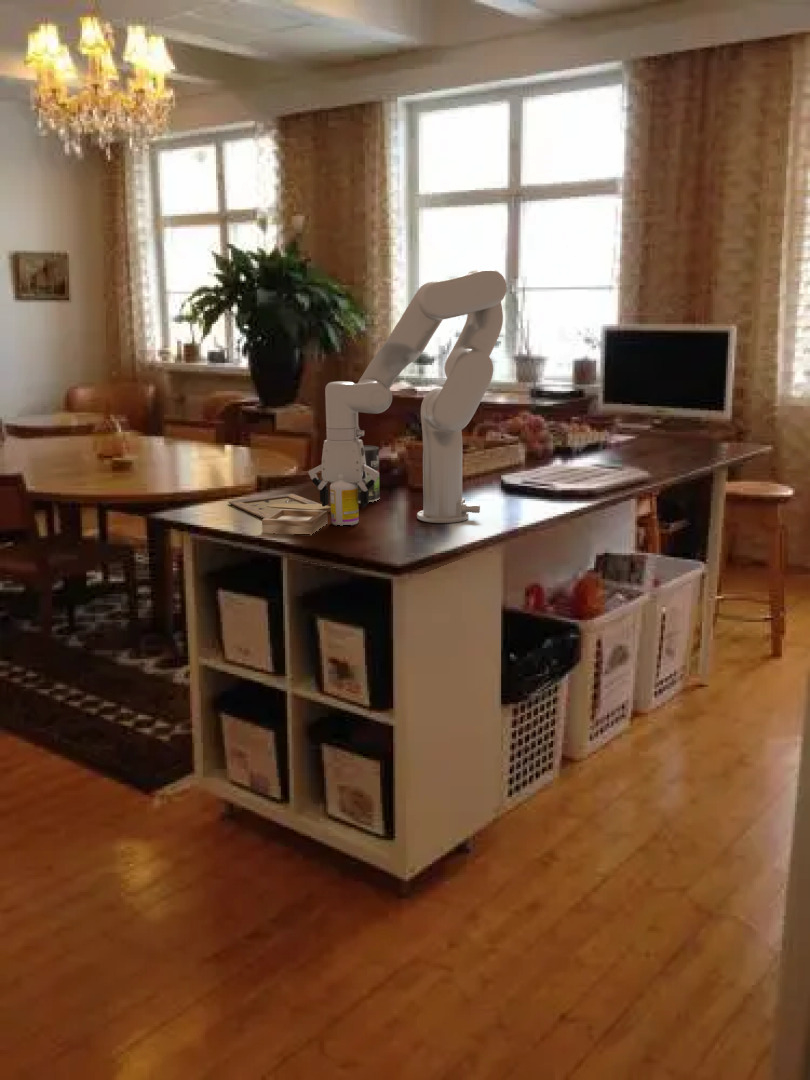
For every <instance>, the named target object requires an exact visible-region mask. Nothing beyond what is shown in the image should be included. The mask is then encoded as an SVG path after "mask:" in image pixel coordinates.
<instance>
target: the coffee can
mask: <svg viewBox="0 0 810 1080" xmlns="http://www.w3.org/2000/svg"><path fill="white" fill-rule="evenodd" d="M363 446H364V452H365V460H366V465H367V466H369V467H370V468H372V469H374V470H376V471H378V472H379V473H380V452H379V451H380V447H379V446H376V445H366V444H363ZM370 479H371V475H370V474H368V473H367V472H366V478H365V480H366V481H367V483H368V482H369V481H370ZM357 485H358V484H357ZM361 491H362V489H361V488H360V486H359V485H358V504H360V492H361ZM379 499H380V500H381V497H380V475H379V476H378V478H377V480H376V482H375V484H374V485H373V486H372V487H371V488H370V489H369V502H372V503H375V502H374V501H376V502H378V501H377V500H379ZM380 500H379V501H380Z"/></svg>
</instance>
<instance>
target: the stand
mask: <svg viewBox="0 0 810 1080" xmlns="http://www.w3.org/2000/svg"><path fill="white" fill-rule="evenodd" d="M328 513H329V512H327V511H323V510H298V509H279V510H277V511H276V512H274V513H272V514H271V515H269V516H267V517H265V518H264V519H262V518H261V524H262V525H261V526H262V528H261V529H262V531H261V532H262V534H273V533H275V534H276V535H278V534H279V535H294V534H310V535H309V536H313V535H314V534H316V533H317V532H319V531H320V530H321V529H322V527H323V526H324V527H325V526H326V524H327V525H328V524H329V522H328V520H329V518H328V517H329V516H328V515H329V514H328ZM324 527H323V528H324ZM320 528H321V529H320ZM319 529H320V530H319ZM316 531H317V532H316ZM315 532H316V533H315ZM313 533H314V534H313ZM275 534H274V535H275ZM312 534H313V535H312Z"/></svg>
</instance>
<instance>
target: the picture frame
mask: <svg viewBox="0 0 810 1080" xmlns="http://www.w3.org/2000/svg"><path fill="white" fill-rule="evenodd" d="M227 503H228V505H229V504H230V505H231V506H234V507H236V508H237V509H240V510H242V511H244V512H247V513H249V514H251V515H254V516H255V515H256V517H258V518H260V517H261V518H260V519H262V518H263V519H264V518H265V517H267V516H269V515H271V514H272V513H274V512H276V511H277V510H279V509H298V510H323V511H331V505H330V506H329V505H328V504H327V505H326V506H322V503H319V502H316V501H314V500H311V499H308V498H305V497H302V496H300V495H297V494H295V493H286V494H279V495H278V494H277V495H269V496H262V497H261V496H260V497H255V498H254V497H253V498H246V499H237V500H230V501H228V502H227Z"/></svg>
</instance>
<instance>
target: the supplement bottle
mask: <svg viewBox="0 0 810 1080" xmlns="http://www.w3.org/2000/svg"><path fill="white" fill-rule="evenodd" d="M338 477H339V479H343V478H342V477H343V475H342V474H339V475H338ZM329 492H330V493H329V496H330V497H329V498H330V499H329V500H330V501H329V502H330V507H331V510H330V511H331V512H330V520H331V521H330V522H331V524H332V525H334V526H337V525H340V526H339V527H344V526H343V525H351V526H355V525H357V524H358V523H359V520H360V519H359V518H360V517H359V516H360V515H359V503H358V485H357V483H347V482H344V481H343V480H339V481H338V482H333V483H331V482H330V484H329Z"/></svg>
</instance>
